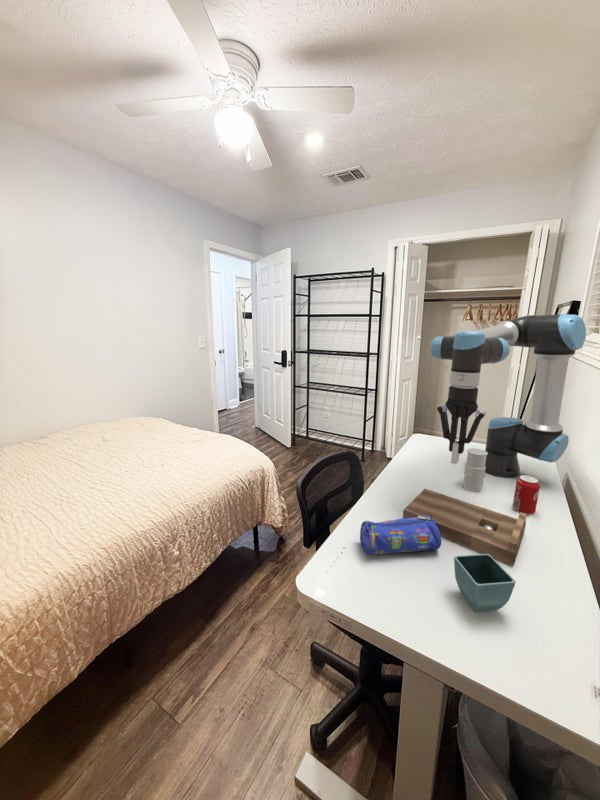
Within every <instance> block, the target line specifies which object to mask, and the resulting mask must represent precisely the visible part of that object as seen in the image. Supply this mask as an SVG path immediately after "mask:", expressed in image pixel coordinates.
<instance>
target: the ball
mask: <svg viewBox="0 0 600 800" xmlns="http://www.w3.org/2000/svg"><path fill="white" fill-rule="evenodd" d="M483 527H485V528H487V529H490V530H493V531H495V530H494V528H493V527H492V526H490V525H484V526H483Z"/></svg>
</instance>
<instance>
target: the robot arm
mask: <svg viewBox="0 0 600 800" xmlns="http://www.w3.org/2000/svg"><path fill="white" fill-rule="evenodd" d="M586 337H587V327H586V323H585V321H584V319H583V318H582V317H581V316H580V315H577V314H567V313H566V314H565V313H563V314H562V313H561V314H542V315H541V314H537V315H535V314H534V315H524V316H520V317H515V318H512V319H511V318H510V319H508V320H503V321H501V322H498V323H497V324H496V325H494V326H489V327H485V328H482V329H481V328H480V329H478V330H477V329H476V330H471V331H464V330H463V331H458V332H456V333H455V335H451V336H446V335H443V336H436V337H435V338H434V339H433V340H432V341H431V343H430V354H431V356H432V357H433V358H435V359H439V360H446V361H447V360H448V361H451V368H450V375H449V376H450V377H449V384H450V386H449V387H448V394H447V400H446V401H445V404H443V405H439V406H438V407H436V409H437V411H438V414H439V415H440V422H441V423H440V424H441V429H442V436H443V438H444V439H447V440H448V441H449V444H448V445H449V447H448V451H449V452H451V458H450V463H451V464H454V465H457V464H458V463H459V461H460V455H462V454H463V453H464V452H465V444H470V443H472V441H473V440H474V436H475V434H476V432H477V430H478V428H479V425H480V423H481V421H482V419H483V418H484V417H485V416H486V415H487V413H486V412H485V411H482V410H480V409H479V406H478V403H477V402H478V393H479V388H478V386H479V385H480V379H481V370H482V369H481V368H482V365H485V364H496V363H499V362H503V361H505V359H506V358H507V357H508V356H509V353H510V347H520V348H521V347H522V348H530V349H531V348H533V355H534V356H535V357H536V358H537V362H536V363H537V364H536V370H535V378H534V379H535V380H534V385H533V395H532V403H531V411H530V419H529V420H527V421H526V422H525V423H524V421H523V420H522V419H521V418H519V417H518V418H516V417H501V416H500V417H494V418H492V419H490V421H489V423H488V427H487V433H486V434H487V435H486V441H485V442H486V443H485V449H484V451H486V452H487V453H488V455H487V456H486V463H485V466H486V469H485V474H488V475H492V476H495V477H500V478H509V479H510V478H511V479H512V478H517V477H520V472H521V468H520V464H519V460H518V459H519V458H518V454H521V455H523V456H527V457H529V458H530V457H531V458H533V459H536V460H538V461H543V462H547V463H555V462H557V461H559V460H560V458H562V456H563V455H564V453H565V452H566V450H567V448H568V445H569V441H570V440H569V439H570V438H569V435H567V434H565V433H563V431H564V427H563V426H562V425H561V423H560V415H561V409H562V403H563V397H564V391H565V390H564V389H565V384H566V376H567V370H568V363H569V359H570V358H571V357H573V356H575V355H576V351H577V350H580V349H582V348H583V346H584V344H585V343H584V342H585V341H586V339H587V338H586ZM447 412H449V413H450V415H451V421H450V422H451V424H450V425H449V418H448V413H447ZM474 413H475V414H474ZM473 414H474V417H475V419H474V421H472V425H471V427H470V429H469V432H468V434H467V431H468V430H467V429H468V423H469V422H468V421H469V418H470V417H471V416H472V415H473ZM459 418H460V427H458V426H459V425H458V424H459ZM458 428H460V429H459V436H457V433H458ZM457 437H458V438H457ZM457 439H458V440H457Z"/></svg>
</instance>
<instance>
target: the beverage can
mask: <svg viewBox="0 0 600 800" xmlns="http://www.w3.org/2000/svg"><path fill="white" fill-rule="evenodd" d="M540 487H541V484H540V483H539V480H538V478H536V477H533V476H531V475H519V477H518V478H517V479H516V482H515V489H514V496H513V499H512V509H513V510H514V511H515V512H516V513H517V514H518V515H520V512H521V513H525V514H526V517H528V516H532V515H534V514H536V512H537V511H536V510H537V504H538V499H539V494H540Z"/></svg>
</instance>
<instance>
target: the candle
mask: <svg viewBox="0 0 600 800" xmlns="http://www.w3.org/2000/svg"><path fill="white" fill-rule="evenodd" d="M466 452H467V454H466V455H467V456H466V457H467V458H466V462H465V466H464V471H463V473H464V475H463V484H464V485H463V488H464V489H465V490H467V491H469V492H473V493H479V492H481V491H482V487H484V478H485V477H486V472H485V469H486V466H485V463H486V456H487V455H488V453H487V452H486V451H485V449H480V448H475V447H474V448H473V447H472V448H468V449H467V450H466Z"/></svg>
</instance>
